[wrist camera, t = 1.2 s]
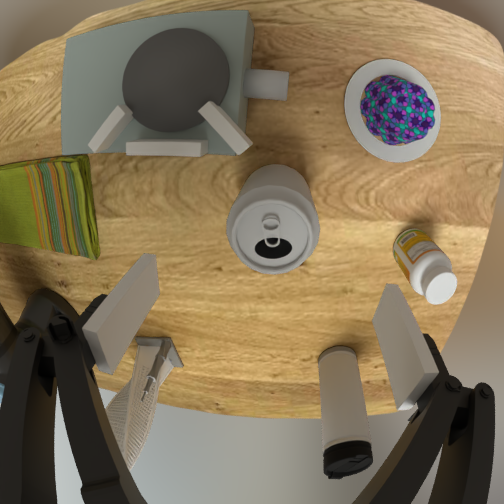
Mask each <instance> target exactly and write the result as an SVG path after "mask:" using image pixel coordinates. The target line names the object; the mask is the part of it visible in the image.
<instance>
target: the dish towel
mask: <svg viewBox="0 0 504 504" xmlns="http://www.w3.org/2000/svg"><path fill="white" fill-rule="evenodd" d="M0 242H2V243H8V244H17V245H22V246H27V247H34V248H39V249H45V250H50V251H55V252H61V253H65V254H71V255H77V256H83V257H87V258H90V259H92V260H97V258H98V257H99V256H100V248H99V241H98V233H97V226H96V218H95V209H94V203H93V192H92V184H91V173H90V164H89V158H88V156H87V155H72V156H61V157H53V158H45V159H39V160H33V161H24V162H19V163H14V164H8V165H4V166H0Z"/></svg>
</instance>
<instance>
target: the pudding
mask: <svg viewBox="0 0 504 504" xmlns="http://www.w3.org/2000/svg"><path fill="white" fill-rule="evenodd" d="M382 75H386V76H382ZM389 75H395V76H399V77H402V78H404V79H406V80H407V81H406V80H403V79H400V78H397V77H394V76H389ZM379 76H382V77H381V79H380V80H379V82H373V81H372V82H370V81H371V80H373V79H375V78H376V77H379ZM369 82H370V83H369ZM368 83H369V84H368ZM367 84H368V85H367ZM365 87H366V88H365ZM364 88H365V94H366V97H365V98H364V99H363V100H362V101H361V105H360V100H361V95H362V93H363V90H364ZM344 108H345V115H346V119H347V122H348V125H349V127H350V129H351V132H352V134H353V135H354V137H355V138H356V139H357V141H358V142H359V143H360V144H361V145H362V146H363V148H364V149H366V150H367V151H368V152H370V153H371V154H372V155H374V156H376V157H378V158H380V159H383V160H386V161H389V162H396V163H397V162H408V161H412V160H414V159H417V158H419V157H420V156H422V155H423V154H425V153H426V152H427V151H428V150H429V149H430V148H431V146H432V145H433V143H434V142H435V140H436V138H437V135H438V133H439V128H440V122H441V113H440V106H439V102H438V98H437V96H436V93H435V91H434V89H433V88H432V86H431V84H430V83H429V82H428V80H427V79H426V78H425V77H424V76H423V75H422V74H421V73H420V72H419V71H418V70H416V69H415V68H413V67H412V66H410V65H408V64H406V63H404V62H401V61H397V60H393V59H380V60H375V61H372V62H369V63H367V64H365V65H364V66H362V67H361V68H360V69H359V70H357V71H356V72H355V74H354V75H353V76H352V78H351V79H350V81H349V84H348V86H347V88H346V93H345V101H344ZM360 109H361V111H360ZM361 113H362V114H363V115H364V116H365V117H366V118H367V122H366V126H367V127H366V126H365V124H364V122H363V120H362V116H361ZM367 128H368V129H367ZM369 131H370V132H371V133H372V134H373V135H376V136H381V138H382V140H383V141H384V142H385V143H387V144H385V143H383V142H381V141H379V140H378V139H376V138H375V137H374V136H373V135H372V134H371V133H370V132H369ZM411 142H412V143H411ZM400 143H405V144H407V143H409V144H407V145H403V146H392V145H396V144H400ZM388 144H389V145H388Z"/></svg>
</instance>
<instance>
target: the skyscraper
mask: <svg viewBox="0 0 504 504" xmlns="http://www.w3.org/2000/svg"><path fill="white" fill-rule="evenodd" d="M135 340H136V342H137V343H138V349H137V353H136V358H135V363H134V368H133V374H132V378H131V380H130V381H129V382H128V383H127V384H126V385H125V386H124V387H123V388H122V389H121V390H120V391H119V392H118V393H117V394H116V395H115V397H114V398H113V399H112V401H111V402H110V403H109V404H108V406H107V407H106V409H105V411H106V414H107V417H108V420H109V423H110V425H111V428H112V431H113V433H114V436H115V439H116V441H117V444H118V446H119V449H120V451H121V453H122V456H123V458H124V460H125V463H126V465H127V467H128V469H129V471H130V470H131V469H132V467H133V465H134V464H135V462H136V460H137V459H138V457H139V455H140V453H141V451H142V449H143V447H144V444H145V442H146V440H147V437H148V434H149V431H150V428H151V424H152V421H153V417H154V413H155V408H156V404H157V398H158V392H159V387H160V386H161V384H162V383H163V381H164V380H165V379H166V377H167V376H168V374H169V373H170V372H171V370H172V369H173V367H183V366H184V365H183V363H182V361H181V359H180V357H179V355H178V353H177V350H176V348H175V346H174V344H173V342H172V340H171V338H159V337H135Z"/></svg>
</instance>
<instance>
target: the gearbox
mask: <svg viewBox="0 0 504 504" xmlns="http://www.w3.org/2000/svg"><path fill="white" fill-rule="evenodd" d="M254 29H255V28H254V25H253V22H252V20H251V17H250V14H249V12H248V10H217V11H199V12H187V13H177V14H169V15H162V16H155V17H149V18H144V19H138V20H133V21H129V22H124V23H120V24H115V25H111V26H108V27H104V28H100V29H97V30H93V31H90V32H86V33H83V34H80V35H77V36H74V37H71V38H68V39H67V41H66V49H65V57H64V67H63V79H62V98H61V140H62V155H72V154H88V153H113V152H126V155H156V156H190V157H201V156H203V155H205V154H218V155H232V156H236V155H238V156H239V155H240V154H241V153H243V152H244V151H245V150H246V149H247V148H249V147H250V146H251V145H252V144H253V143H252V141H251V140H250V139H249V138H248V137H247V136H246V135H245V131H246V119H247V107H248V98H260V99H271V100H281V101H287V91H288V80H289V72H285V71H275V70H263V69H251V61H252V50H253V40H254Z"/></svg>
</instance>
